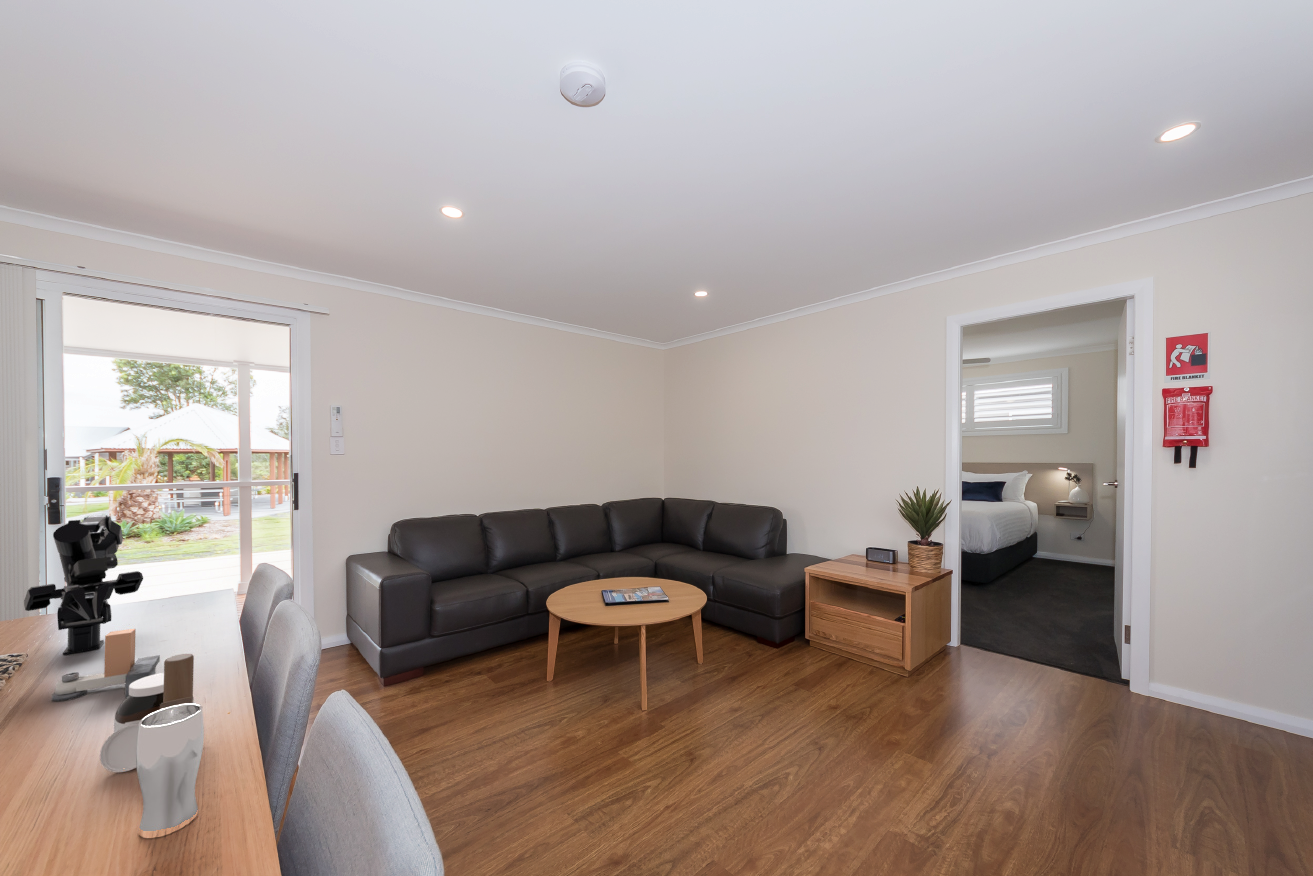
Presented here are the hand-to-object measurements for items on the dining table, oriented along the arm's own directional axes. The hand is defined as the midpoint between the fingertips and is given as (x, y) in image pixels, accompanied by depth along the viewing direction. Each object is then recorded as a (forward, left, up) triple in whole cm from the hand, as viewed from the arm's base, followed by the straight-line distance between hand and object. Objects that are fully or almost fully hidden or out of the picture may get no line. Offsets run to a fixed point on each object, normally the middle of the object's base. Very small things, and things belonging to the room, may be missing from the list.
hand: (94, 618), depth 122 cm
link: (+15, +4, -11) cm, 19 cm away
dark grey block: (+19, +10, -12) cm, 25 cm away
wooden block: (+65, +18, -12) cm, 69 cm away
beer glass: (+78, +18, -12) cm, 81 cm away
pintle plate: (+14, -1, -12) cm, 19 cm away
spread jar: (+53, +14, -12) cm, 57 cm away
